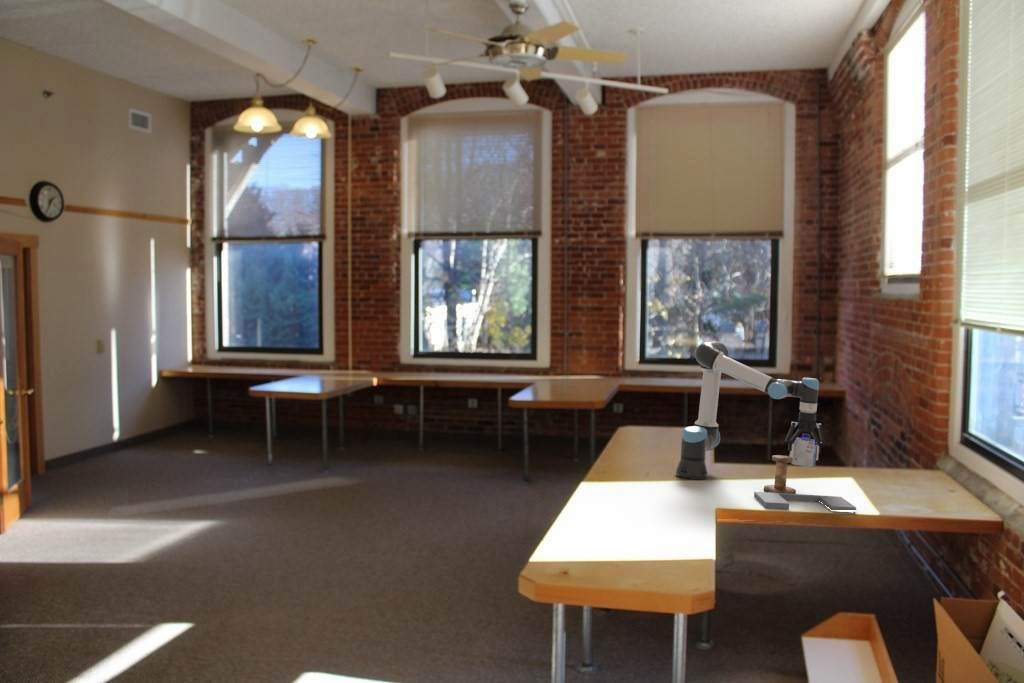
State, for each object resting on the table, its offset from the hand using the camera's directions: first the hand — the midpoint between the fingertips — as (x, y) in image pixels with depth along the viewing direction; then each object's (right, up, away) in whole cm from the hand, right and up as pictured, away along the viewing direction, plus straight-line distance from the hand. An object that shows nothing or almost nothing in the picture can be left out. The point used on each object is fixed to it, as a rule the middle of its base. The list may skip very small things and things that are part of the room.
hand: (803, 458), depth 402 cm
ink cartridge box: (0, -3, 0) cm, 3 cm away
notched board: (-9, -16, -27) cm, 33 cm away
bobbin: (-13, -14, -5) cm, 20 cm away
